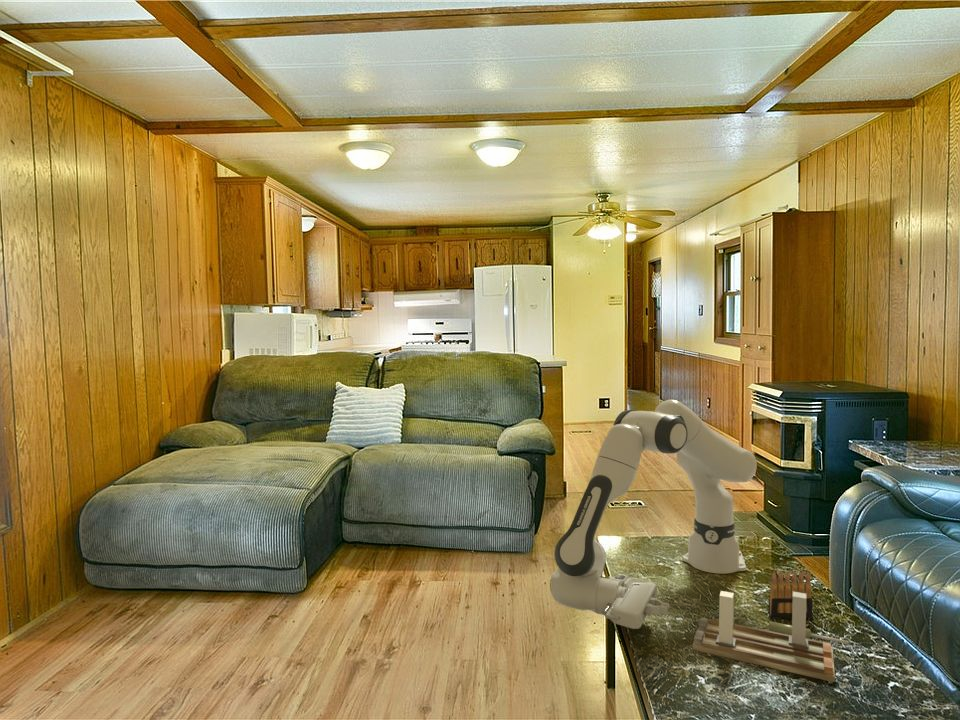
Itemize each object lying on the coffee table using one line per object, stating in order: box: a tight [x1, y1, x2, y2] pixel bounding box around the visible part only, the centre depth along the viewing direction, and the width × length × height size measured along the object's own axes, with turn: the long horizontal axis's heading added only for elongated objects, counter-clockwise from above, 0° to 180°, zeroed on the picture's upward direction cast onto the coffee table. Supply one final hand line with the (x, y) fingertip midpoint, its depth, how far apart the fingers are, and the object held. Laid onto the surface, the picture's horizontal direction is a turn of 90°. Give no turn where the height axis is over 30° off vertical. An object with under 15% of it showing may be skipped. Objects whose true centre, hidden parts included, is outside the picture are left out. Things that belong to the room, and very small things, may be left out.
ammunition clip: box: [767, 570, 813, 619], centre depth 160 cm, size 11×2×12 cm, turn 89°
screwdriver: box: [768, 621, 850, 645], centre depth 149 cm, size 17×3×3 cm, turn 62°
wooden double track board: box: [692, 617, 836, 683], centre depth 144 cm, size 13×29×2 cm, turn 62°
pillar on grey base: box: [789, 591, 808, 649], centre depth 143 cm, size 4×4×12 cm
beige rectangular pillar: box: [716, 590, 736, 648], centre depth 144 cm, size 4×4×12 cm
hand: (668, 609), depth 150 cm, fingers closed
